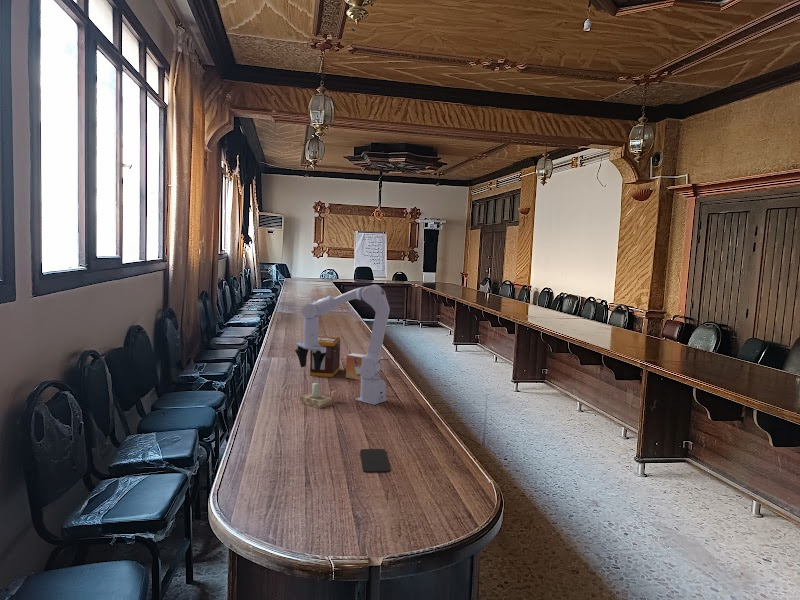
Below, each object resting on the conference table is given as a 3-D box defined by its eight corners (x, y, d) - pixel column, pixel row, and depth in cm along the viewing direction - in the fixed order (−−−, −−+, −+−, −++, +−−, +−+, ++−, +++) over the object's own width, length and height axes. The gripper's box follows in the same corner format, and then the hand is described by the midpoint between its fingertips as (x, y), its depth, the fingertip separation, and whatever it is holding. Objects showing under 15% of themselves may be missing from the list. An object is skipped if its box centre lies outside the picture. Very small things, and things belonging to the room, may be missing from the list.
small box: (345, 378, 239) (346, 354, 238) (352, 375, 244) (353, 352, 243) (360, 380, 235) (361, 357, 234) (367, 378, 240) (368, 354, 239)
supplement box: (339, 369, 255) (340, 336, 253) (332, 377, 240) (333, 342, 238) (318, 367, 256) (319, 335, 254) (309, 375, 241) (310, 341, 239)
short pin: (339, 401, 204) (339, 391, 204) (334, 403, 202) (335, 392, 202) (334, 400, 206) (334, 390, 205) (329, 401, 203) (329, 391, 203)
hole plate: (331, 404, 200) (331, 398, 200) (319, 408, 195) (319, 401, 195) (311, 399, 206) (311, 392, 206) (300, 402, 201) (300, 396, 201)
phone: (362, 471, 143) (359, 449, 158) (362, 474, 143) (359, 451, 158) (390, 470, 144) (385, 448, 158) (390, 473, 144) (384, 451, 159)
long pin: (320, 403, 201) (320, 383, 201) (317, 405, 199) (317, 385, 198) (313, 402, 202) (313, 382, 201) (310, 404, 200) (311, 384, 199)
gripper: (331, 335, 208) (331, 369, 210) (305, 330, 217) (304, 363, 218) (319, 337, 203) (318, 372, 204) (291, 332, 211) (291, 366, 212)
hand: (310, 368), depth 211 cm, fingers open, 7 cm apart
